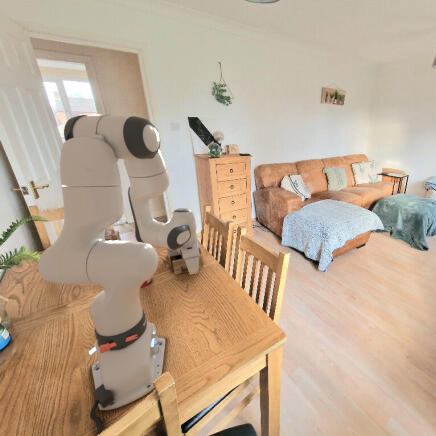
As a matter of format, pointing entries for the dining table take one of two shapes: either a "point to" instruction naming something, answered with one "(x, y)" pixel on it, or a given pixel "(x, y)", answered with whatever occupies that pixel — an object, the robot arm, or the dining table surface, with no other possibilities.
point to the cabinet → (174, 254)
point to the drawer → (182, 264)
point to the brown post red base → (146, 282)
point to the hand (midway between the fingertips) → (191, 271)
